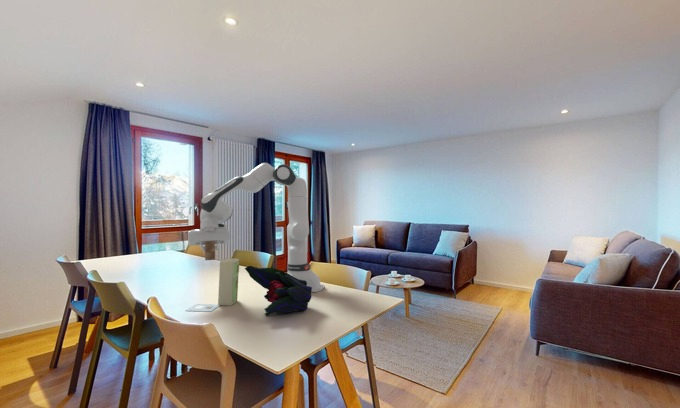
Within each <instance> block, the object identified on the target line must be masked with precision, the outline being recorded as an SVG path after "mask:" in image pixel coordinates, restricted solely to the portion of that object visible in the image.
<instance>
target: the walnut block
mask: <svg viewBox="0 0 680 408" xmlns="http://www.w3.org/2000/svg"><path fill="white" fill-rule="evenodd" d="M204 246H205V251H204V259H205V260H204V261H215V260H216V250H215V246H216V244H215V241H207V242H205V245H204Z"/></svg>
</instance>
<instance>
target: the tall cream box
mask: <svg viewBox="0 0 680 408" xmlns="http://www.w3.org/2000/svg"><path fill="white" fill-rule="evenodd" d="M239 272H240V259H239V258H233V257H232V258H229V257H226V258H224V259H222V260H220V262H219V276H218V277H219V278H218V294H217V295H218V299H217V304H218V305H220V306H233V304H235V303H236V302H237V301H238V294H239V293H238V292H239V291H238V290H239Z"/></svg>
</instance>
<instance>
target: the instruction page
mask: <svg viewBox="0 0 680 408" xmlns="http://www.w3.org/2000/svg"><path fill="white" fill-rule="evenodd" d="M220 306H221V305H218V303H217V304H216V303H215V304H213V303H212V304H211V303H196V304H195V305H193V306H190V307H189V308H188V309H186V310H185V312H203V313H204V312H207V313H211V312H213V311H214V310H216V309H217V308H218V307H220Z"/></svg>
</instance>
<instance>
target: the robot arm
mask: <svg viewBox="0 0 680 408" xmlns="http://www.w3.org/2000/svg"><path fill="white" fill-rule="evenodd" d="M272 181H273V182H275V183H276V184H278V185H280V186H286V187H287V194H288V195H287V201H288V202H287V203H288V204H287V208H288V209H287V212H288V225H287V226H286V237H287V238H286V239H287V264H286V273H288V274H290V275H291V276H293V277H295V278H297V279H299V280H305V281H306V282H307V285H306V286H310V287H312V293H318V292H320V291H322V290H323V289H324V288H325V285H324V284H323V283H321V279H320V276H319V275H318V274H317V273H315V271H313V270H312V269H311V266H312V264H311V263H309V262H308V247H307V237H308V236H309V235H310V225H309V222H310V221H309V213H308V212H309V211H308V188H307V183H306V179H304V178H302V177H300V176H299V177H297V175H295V173H294V170H293V168H292V167H291V166H289V165H288V164H284V163H283V164H282V163H281V164H278V165H277V166H276V167H274V166H272V165H271V164H270V163H268V162H262V163H261V164H259V165H257V166H256V167H254V168H253V169H251V171H250V172H248V173H246V174H244V175H242V176H239V175H238V176H235V177H233V178H232V179H230V180H229V181H227V182H226V183H224V184H223V185H221V186H218V188H217V189H215V190H213V191H211V192H209V193H206V194H205V195H204V196H203V197H202V198H201V199H200V207H201V210H200V213H199V220H200V225H199V226H200V228H199V229H191V230H189V231H187V237H188V239H187V244H188V245H189V246H191V247H192V246H199V247H200V248H201V252H205V242H207V241H215V251H218V250H219V249H218V248H219V246H220V245H222V244H229V243H230V242H231V234H230V232H229V230H228V227H227V226H228V225H227V224H224V222H227V221H228V220H230V219H231V218H232V216H233V212H234V211H233V210H234V209H233V207H232V206H231V205H229V204H228V203H227V202H225V201H224V200H223V198H225V197H226V196H227V195H229V194H231V193H232V192H233V191H238V190H240V191H244V192H246V193H250V194H255V193H258V192H259V191H260V190H262V189H263V188H264V187H265V186H267V184H268V183H270V182H272Z"/></svg>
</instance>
